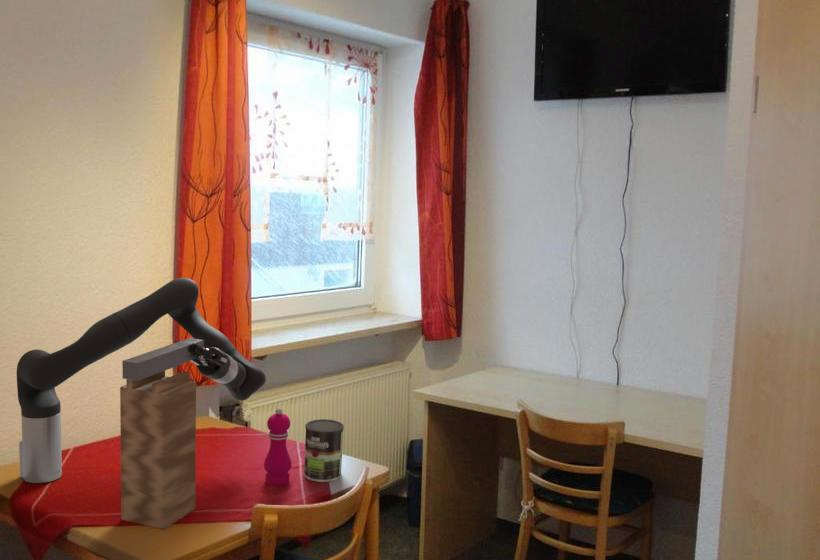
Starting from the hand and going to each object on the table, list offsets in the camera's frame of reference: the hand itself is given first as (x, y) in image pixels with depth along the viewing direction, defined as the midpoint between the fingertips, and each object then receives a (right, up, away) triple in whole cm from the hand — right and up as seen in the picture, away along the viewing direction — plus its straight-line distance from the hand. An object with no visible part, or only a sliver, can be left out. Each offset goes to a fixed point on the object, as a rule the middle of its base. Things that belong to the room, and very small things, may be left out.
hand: (183, 346), depth 198 cm
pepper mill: (+19, -38, +20) cm, 47 cm away
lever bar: (-3, -4, -6) cm, 8 cm away
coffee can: (+31, -37, +25) cm, 55 cm away
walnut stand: (-5, -40, -3) cm, 40 cm away
